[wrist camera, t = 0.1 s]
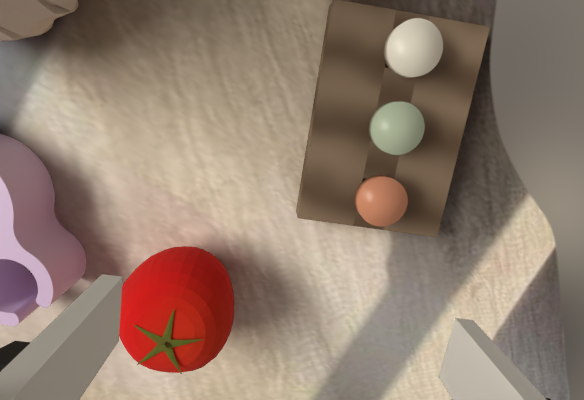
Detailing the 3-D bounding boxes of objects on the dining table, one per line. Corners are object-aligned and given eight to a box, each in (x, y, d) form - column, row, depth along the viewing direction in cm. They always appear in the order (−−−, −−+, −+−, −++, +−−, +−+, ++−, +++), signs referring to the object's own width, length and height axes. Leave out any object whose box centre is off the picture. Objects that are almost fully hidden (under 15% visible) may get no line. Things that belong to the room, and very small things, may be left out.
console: (329, 6, 38) (333, -2, 35) (474, 32, 39) (490, 27, 36) (296, 210, 43) (297, 218, 40) (426, 228, 44) (437, 237, 41)
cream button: (384, 22, 36) (395, 13, 33) (433, 31, 37) (448, 23, 33) (373, 75, 38) (383, 72, 34) (421, 83, 38) (435, 80, 34)
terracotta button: (355, 168, 40) (363, 174, 36) (401, 175, 40) (412, 181, 37) (347, 213, 41) (353, 222, 37) (391, 219, 41) (401, 229, 38)
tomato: (133, 238, 43) (75, 291, 31) (230, 223, 43) (211, 270, 31) (157, 328, 46) (112, 410, 33) (248, 313, 46) (237, 391, 33)
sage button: (369, 98, 38) (378, 97, 35) (416, 106, 38) (430, 106, 35) (359, 146, 39) (367, 150, 36) (405, 154, 39) (417, 158, 36)
